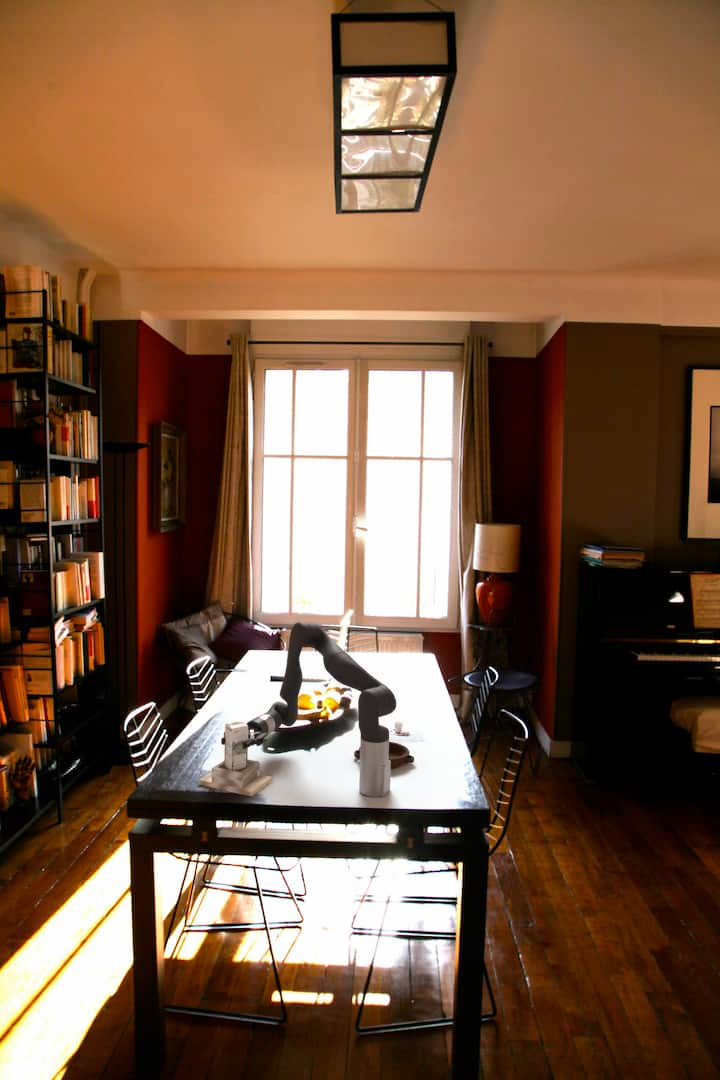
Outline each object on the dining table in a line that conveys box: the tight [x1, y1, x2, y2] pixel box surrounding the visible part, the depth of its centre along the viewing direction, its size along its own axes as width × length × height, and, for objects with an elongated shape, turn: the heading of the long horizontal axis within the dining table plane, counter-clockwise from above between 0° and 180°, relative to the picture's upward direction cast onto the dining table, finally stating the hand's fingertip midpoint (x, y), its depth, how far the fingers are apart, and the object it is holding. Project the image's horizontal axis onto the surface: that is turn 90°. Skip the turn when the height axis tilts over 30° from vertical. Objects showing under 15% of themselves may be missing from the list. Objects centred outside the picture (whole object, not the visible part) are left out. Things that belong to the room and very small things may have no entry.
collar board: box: [198, 758, 273, 798], centre depth 196 cm, size 20×12×6 cm, turn 68°
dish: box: [353, 741, 415, 769], centre depth 216 cm, size 17×22×5 cm
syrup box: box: [223, 720, 249, 771], centre depth 196 cm, size 6×6×14 cm
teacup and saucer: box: [388, 721, 410, 736], centre depth 247 cm, size 9×8×4 cm
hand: (232, 743), depth 194 cm, fingers closed on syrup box, 7 cm apart
